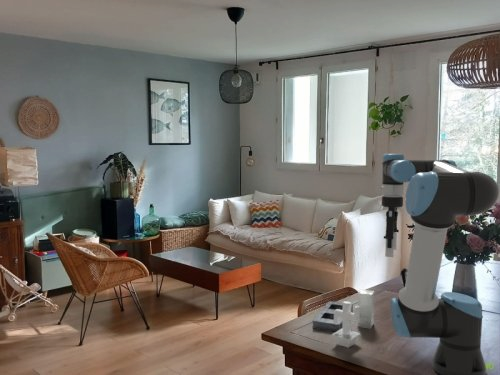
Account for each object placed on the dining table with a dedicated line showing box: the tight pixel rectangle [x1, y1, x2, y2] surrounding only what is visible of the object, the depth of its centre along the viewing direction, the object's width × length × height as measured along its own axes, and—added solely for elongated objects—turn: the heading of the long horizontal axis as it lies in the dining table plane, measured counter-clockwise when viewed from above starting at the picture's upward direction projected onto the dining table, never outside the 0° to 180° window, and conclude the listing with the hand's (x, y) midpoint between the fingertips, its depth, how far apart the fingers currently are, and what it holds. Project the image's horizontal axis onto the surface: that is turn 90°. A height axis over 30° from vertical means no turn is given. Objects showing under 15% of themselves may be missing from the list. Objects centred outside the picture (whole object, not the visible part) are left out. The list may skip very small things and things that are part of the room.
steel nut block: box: [357, 289, 375, 329], centre depth 188 cm, size 5×5×13 cm
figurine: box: [331, 301, 361, 349], centre depth 171 cm, size 7×9×15 cm
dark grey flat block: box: [312, 300, 354, 333], centre depth 195 cm, size 24×10×3 cm, turn 157°
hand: (391, 253), depth 184 cm, fingers open, 13 cm apart
